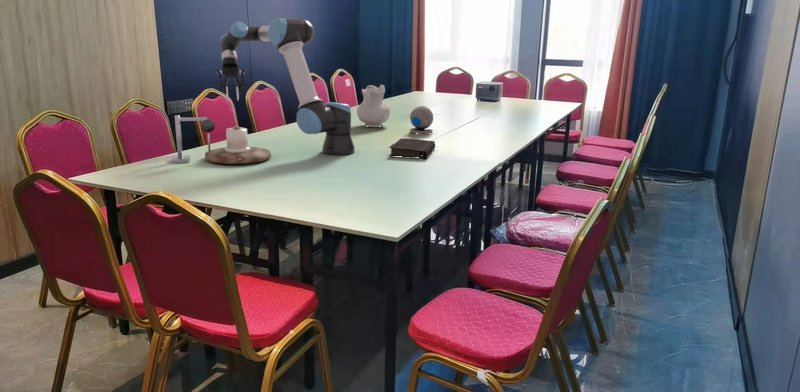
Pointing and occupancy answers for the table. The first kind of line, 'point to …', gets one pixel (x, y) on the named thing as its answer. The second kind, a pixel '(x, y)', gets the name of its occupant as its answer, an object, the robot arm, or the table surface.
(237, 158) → the turntable
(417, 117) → the webcam
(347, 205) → the table surface
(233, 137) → the canister
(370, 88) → the ceramic pitcher
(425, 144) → the diary
